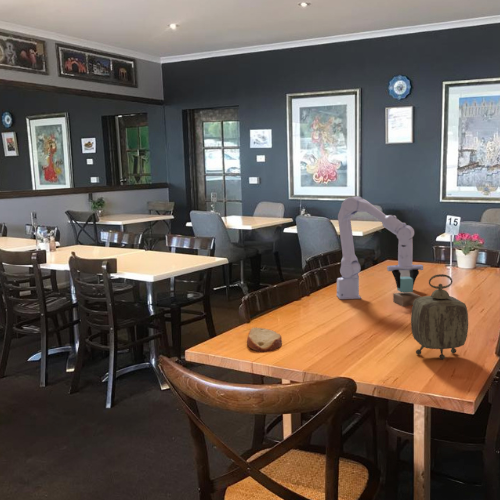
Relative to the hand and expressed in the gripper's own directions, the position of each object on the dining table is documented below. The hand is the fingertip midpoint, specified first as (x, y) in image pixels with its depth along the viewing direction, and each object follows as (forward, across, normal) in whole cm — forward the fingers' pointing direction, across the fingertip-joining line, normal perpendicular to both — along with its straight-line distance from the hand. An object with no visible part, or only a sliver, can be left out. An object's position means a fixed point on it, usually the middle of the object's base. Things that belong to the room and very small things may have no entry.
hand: (404, 287), depth 230 cm
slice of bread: (+7, -63, -45) cm, 78 cm away
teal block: (+1, 0, 0) cm, 1 cm away
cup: (+7, +8, +23) cm, 25 cm away
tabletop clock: (+7, -11, -67) cm, 68 cm away
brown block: (+7, 0, -1) cm, 7 cm away
